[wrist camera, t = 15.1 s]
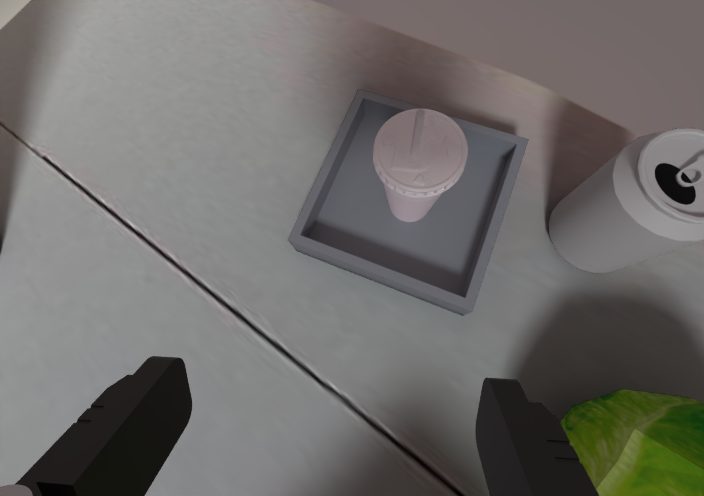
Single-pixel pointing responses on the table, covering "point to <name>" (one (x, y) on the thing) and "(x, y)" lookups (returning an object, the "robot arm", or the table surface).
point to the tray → (409, 237)
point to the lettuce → (640, 443)
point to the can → (635, 204)
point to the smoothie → (418, 160)
